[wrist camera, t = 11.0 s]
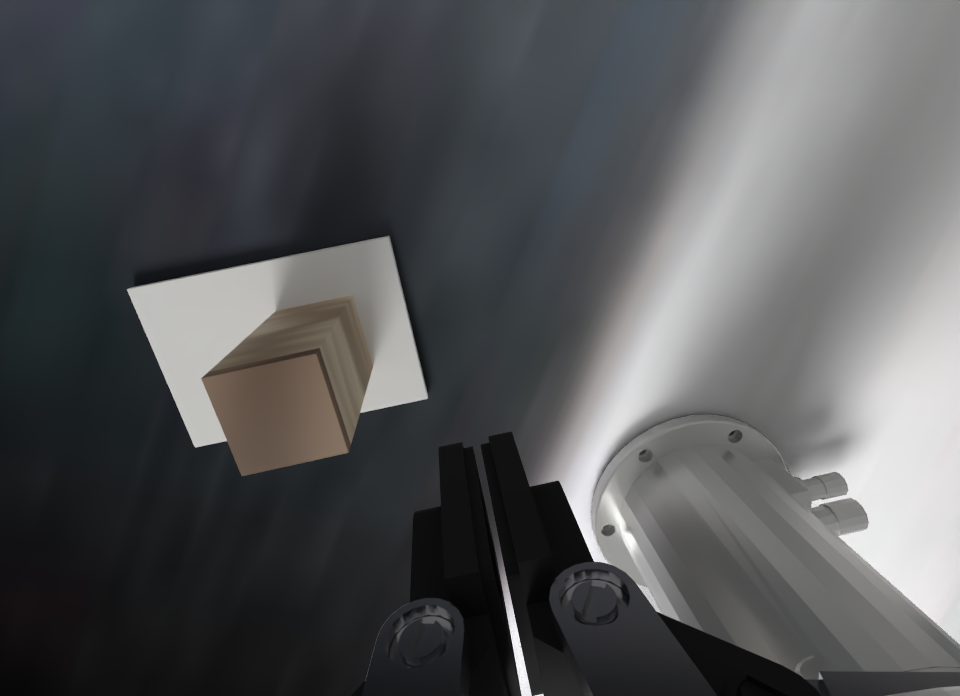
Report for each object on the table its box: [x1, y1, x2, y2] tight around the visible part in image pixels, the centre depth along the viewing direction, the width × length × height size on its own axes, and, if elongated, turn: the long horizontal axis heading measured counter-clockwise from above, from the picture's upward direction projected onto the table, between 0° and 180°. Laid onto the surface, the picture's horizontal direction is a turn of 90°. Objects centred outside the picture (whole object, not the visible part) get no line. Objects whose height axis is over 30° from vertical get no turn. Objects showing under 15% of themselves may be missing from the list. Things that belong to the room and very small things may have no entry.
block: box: [201, 295, 373, 476], centre depth 22 cm, size 4×4×9 cm
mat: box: [127, 236, 428, 447], centre depth 27 cm, size 13×9×1 cm
